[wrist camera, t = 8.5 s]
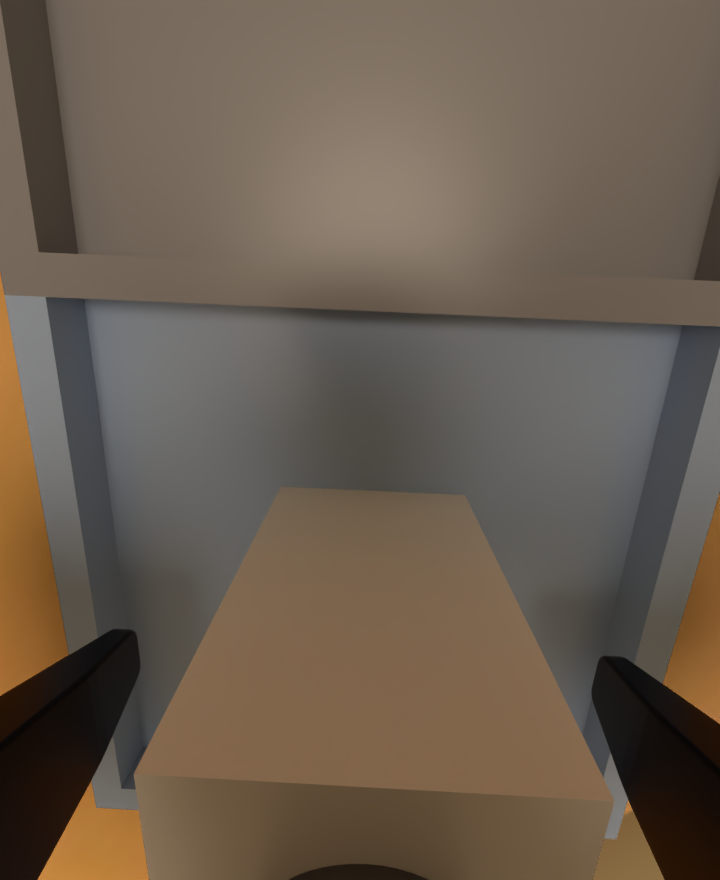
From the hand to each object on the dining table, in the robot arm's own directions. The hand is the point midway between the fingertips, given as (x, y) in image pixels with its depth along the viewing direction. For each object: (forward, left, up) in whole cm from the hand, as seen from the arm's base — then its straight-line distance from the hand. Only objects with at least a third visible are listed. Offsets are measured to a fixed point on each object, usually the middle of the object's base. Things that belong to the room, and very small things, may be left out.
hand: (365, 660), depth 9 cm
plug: (0, 0, -3) cm, 3 cm away
